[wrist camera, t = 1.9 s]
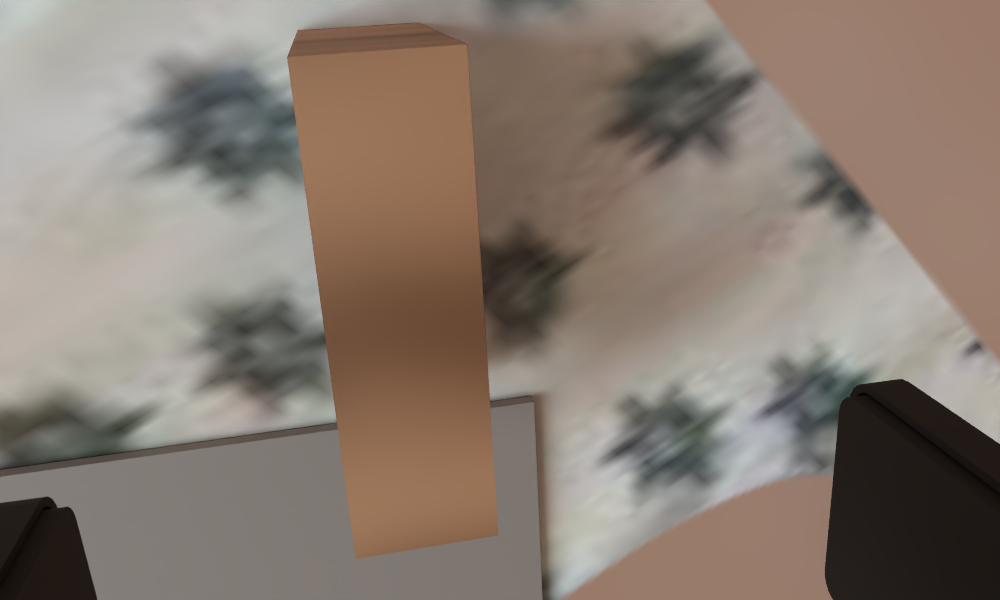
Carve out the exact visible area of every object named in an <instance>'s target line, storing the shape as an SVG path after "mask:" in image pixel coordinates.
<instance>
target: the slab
mask: <svg viewBox="0 0 1000 600" xmlns="http://www.w3.org/2000/svg"><path fill="white" fill-rule="evenodd" d="M287 58H288V66H289V73H290V80H291V88H292V95H293V102H294V110H295V117H296V124H297V132H298V139H299V147H300V154H301V161H302V169H303V176H304V183H305V191H306V198H307V205H308V213H309V220H310V227H311V235H312V242H313V250H314V257H315V264H316V272H317V279H318V286H319V294H320V301H321V308H322V316H323V323H324V330H325V338H326V345H327V353H328V360H329V367H330V375H331V382H332V389H333V397H334V404H335V411H336V419H337V426H338V433H339V441H340V448H341V456H342V463H343V470H344V478H345V485H346V492H347V500H348V507H349V514H350V522H351V529H352V536H353V544H354V551H355V559H358V558H364V557H370V556H376V555H382V554H388V553H395V552H401V551H407V550H413V549H419V548H425V547H431V546H437V545H443V544H449V543H455V542H461V541H467V540H473V539H479V538H485V537H491V536H498V521H497V505H496V490H495V474H494V458H493V443H492V427H491V411H490V396H489V380H488V364H487V349H486V333H485V318H484V302H483V286H482V271H481V255H480V239H479V224H478V208H477V192H476V177H475V161H474V146H473V130H472V114H471V99H470V83H469V67H468V52H467V44H465V43H463V42H461V41H458V40H456V39H454V38H451V37H449V36H447V35H445V34H442V33H440V32H438V31H435V30H433V29H431V28H429V27H426V26H424V25H422V24H420V23H405V24H390V25H374V26H359V27H344V28H329V29H314V30H299V31H297V34H296V36H295V39H294V41H293V44H292V46H291V49H290V52H289V54H288V57H287Z"/></svg>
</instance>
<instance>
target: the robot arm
mask: <svg viewBox="0 0 1000 600" xmlns="http://www.w3.org/2000/svg"><path fill="white" fill-rule="evenodd" d="M827 542H828V543H827V552H826V563H825V579H826V584H827V587H828V591H829V593H830V595H831V597H832V598H833V600H1000V444H999V443H997V442H996V441H994V440H993V439H991V438H990V437H988V436H987V435H986V434H984V433H983V432H981V431H980V430H978V429H977V428H975V427H974V426H972V425H971V424H969V423H968V422H967V421H965V420H964V419H962V418H961V417H959V416H958V415H956V414H955V413H953V412H952V411H950V410H949V409H947V408H946V407H945V406H943V405H942V404H940V403H939V402H937V401H936V400H934V399H933V398H931V397H930V396H928V395H927V394H925V393H924V392H923V391H921V390H920V389H918V388H917V387H915V386H914V385H912V384H911V383H909V382H907V381H905V380H903V379H898V380H890V381H882V382H875V383H868V384H861V385H858V386H856V387H855V388H854V389H853V391H852V393H851V395H850V397H848V398H845V399H844V400H843V401H842V403H841V405H840V410H839V419H838V430H837V442H836V453H835V464H834V475H833V487H832V498H831V508H830V519H829V530H828V541H827ZM0 600H98V599H97V596H96V592H95V588H94V584H93V580H92V577H91V573H90V569H89V565H88V561H87V558H86V554H85V550H84V546H83V542H82V539H81V535H80V531H79V527H78V523H77V520H76V517H75V514H74V512H73V510H72V509H71V508H70V507H61V508H57V505H56V503H55V502H54V500H53V499H52V498H50V497H48V496H47V497H40V498H32V499H25V500H18V501H11V502H3V503H0Z"/></svg>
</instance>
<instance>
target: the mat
mask: <svg viewBox="0 0 1000 600" xmlns="http://www.w3.org/2000/svg"><path fill="white" fill-rule="evenodd" d="M490 411H491V427H492V443H493V458H494V474H495V490H496V505H497V521H498V536H491V537H485V538H479V539H473V540H467V541H461V542H455V543H449V544H443V545H437V546H431V547H425V548H419V549H413V550H407V551H401V552H395V553H388V554H382V555H376V556H370V557H364V558H358V559H355V551H354V544H353V536H352V529H351V522H350V514H349V507H348V500H347V492H346V485H345V478H344V470H343V463H342V456H341V448H340V441H339V433H338V426H337V423H334V424H327V425H319V426H312V427H305V428H298V429H291V430H283V431H276V432H269V433H262V434H255V435H248V436H240V437H233V438H226V439H219V440H212V441H204V442H197V443H190V444H183V445H176V446H168V447H161V448H154V449H147V450H140V451H132V452H125V453H118V454H111V455H104V456H97V457H89V458H82V459H75V460H68V461H61V462H53V463H46V464H39V465H32V466H25V467H17V468H10V469H3V470H0V503H3V502H11V501H18V500H25V499H32V498H40V497H47V496H48V497H50V498H52V499H53V500H54V502H55V503H56V505H57V508H61V507H70V508H71V509H72V510H73V512H74V514H75V517H76V520H77V523H78V527H79V531H80V535H81V539H82V542H83V546H84V550H85V554H86V558H87V561H88V565H89V569H90V573H91V577H92V580H93V584H94V588H95V592H96V596H97V599H98V600H543V598H542V575H541V552H540V529H539V506H538V483H537V460H536V437H535V414H534V401H533V399H532V397H531V396H528V397H521V398H514V399H506V400H499V401H492V402H490Z"/></svg>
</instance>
